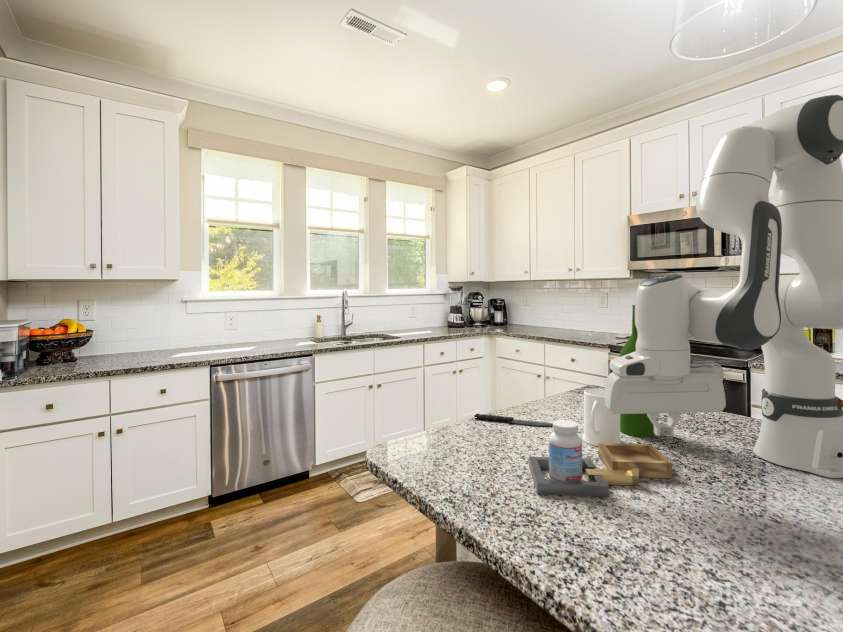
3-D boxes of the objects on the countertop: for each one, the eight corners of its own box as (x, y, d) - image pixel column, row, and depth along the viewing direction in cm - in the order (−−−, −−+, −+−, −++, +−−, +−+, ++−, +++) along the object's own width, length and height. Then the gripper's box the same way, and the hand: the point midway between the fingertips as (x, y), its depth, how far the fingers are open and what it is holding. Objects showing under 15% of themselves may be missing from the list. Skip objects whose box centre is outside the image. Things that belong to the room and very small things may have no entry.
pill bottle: (572, 490, 78) (572, 430, 78) (542, 480, 83) (542, 423, 82) (588, 480, 82) (588, 423, 82) (559, 470, 87) (559, 416, 86)
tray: (651, 457, 92) (651, 444, 92) (672, 478, 82) (672, 463, 82) (598, 456, 94) (598, 443, 93) (612, 476, 84) (612, 461, 84)
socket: (590, 467, 88) (590, 458, 88) (608, 496, 76) (608, 486, 75) (528, 466, 89) (528, 456, 89) (537, 494, 77) (537, 483, 77)
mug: (607, 454, 95) (608, 401, 94) (571, 445, 100) (570, 395, 100) (626, 440, 103) (626, 391, 102) (591, 432, 109) (591, 386, 108)
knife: (567, 421, 115) (565, 426, 111) (567, 426, 115) (565, 432, 111) (477, 412, 126) (472, 416, 121) (477, 417, 126) (472, 422, 121)
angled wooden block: (633, 479, 82) (633, 463, 82) (638, 485, 80) (638, 468, 79) (585, 477, 83) (585, 461, 83) (588, 483, 81) (588, 467, 81)
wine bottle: (652, 427, 112) (653, 304, 110) (662, 438, 104) (664, 305, 102) (615, 425, 115) (616, 304, 113) (622, 436, 106) (623, 305, 104)
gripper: (713, 357, 81) (714, 428, 82) (601, 361, 84) (603, 429, 85) (733, 363, 75) (733, 440, 76) (610, 367, 77) (613, 441, 78)
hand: (663, 434), depth 80 cm, fingers closed
